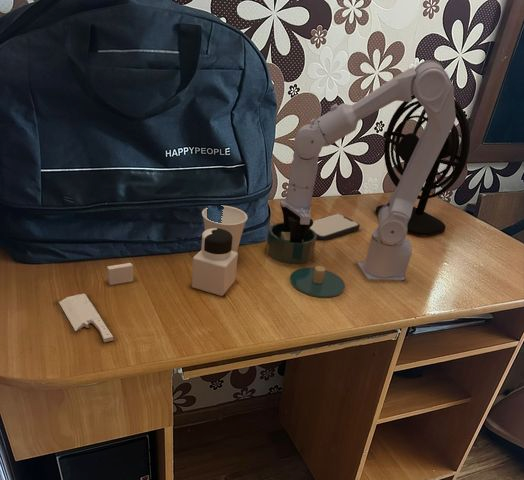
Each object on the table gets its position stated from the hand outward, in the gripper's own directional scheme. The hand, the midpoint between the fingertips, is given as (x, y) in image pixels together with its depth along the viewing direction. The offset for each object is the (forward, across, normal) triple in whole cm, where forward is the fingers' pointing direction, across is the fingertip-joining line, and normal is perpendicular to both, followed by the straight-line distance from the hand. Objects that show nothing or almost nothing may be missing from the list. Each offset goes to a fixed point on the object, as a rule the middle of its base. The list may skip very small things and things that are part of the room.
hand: (291, 240), depth 120 cm
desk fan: (+4, -22, +41) cm, 47 cm away
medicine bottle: (+4, +14, -20) cm, 25 cm away
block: (+3, 0, 0) cm, 3 cm away
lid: (+3, +14, +3) cm, 15 cm away
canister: (+4, 0, 0) cm, 4 cm away
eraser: (+4, +13, -39) cm, 41 cm away
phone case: (+4, -15, +15) cm, 22 cm away
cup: (+4, +3, -17) cm, 18 cm away
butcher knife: (+4, +27, -45) cm, 53 cm away
